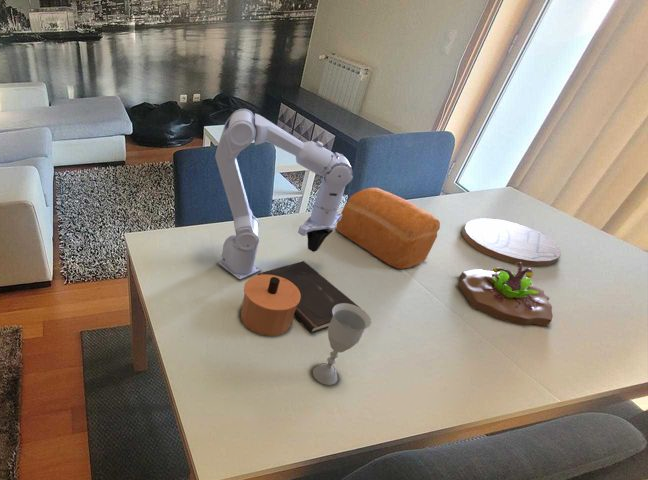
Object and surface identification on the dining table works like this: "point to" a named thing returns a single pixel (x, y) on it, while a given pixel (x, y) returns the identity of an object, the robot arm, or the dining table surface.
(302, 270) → the hardcover book
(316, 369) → the chalice
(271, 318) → the pot
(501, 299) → the plant
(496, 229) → the trivet
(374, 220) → the bread
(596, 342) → the dining table surface
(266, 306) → the pot lid
